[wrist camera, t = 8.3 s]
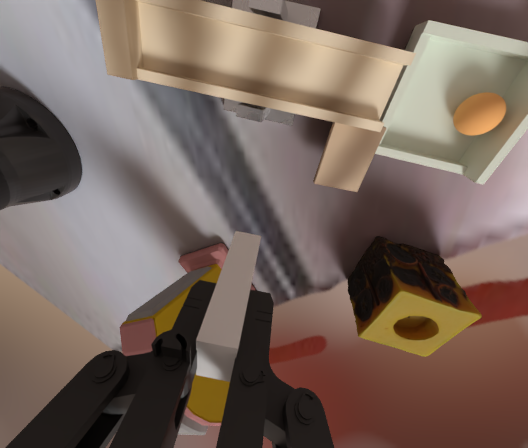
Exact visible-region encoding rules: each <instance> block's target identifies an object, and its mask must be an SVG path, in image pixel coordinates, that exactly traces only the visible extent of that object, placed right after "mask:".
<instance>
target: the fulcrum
mask: <svg viewBox="0 0 528 448" xmlns="http://www.w3.org/2000/svg"><path fill="white" fill-rule="evenodd" d="M232 8H234V9H238V10H242V11H246V12H250V13H254V14H258V15H262V16H266V17H270V18H275V19H279V20H283V21H287V22H291V23H295V24H299V25H303V26H307V27H311V28H315V29H316V26H317V22H318V18H319V14H320V10H321V8H316V7H312V6H308V5H303V4H299V3H294V2H290V1H285V0H233V2H232ZM224 110H227V111H231V112H236V113H237V115H236V116H237V117H241V118H246V119H250V120H254V121H258V122H262V121H263V120H264V119H265V120H269V121H274V122H278V123H282V124H286V125H290V126H292V125H293V121H294V116H295V114H294V113H290V112H285V111H281V110H276V109H271V108H267V107H262V106H258V105H253V104H248V103H244V102H239V101H235V100H230V99H226V98H224Z"/></svg>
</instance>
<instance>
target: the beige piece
mask: <svg viewBox="0 0 528 448" xmlns="http://www.w3.org/2000/svg"><path fill="white" fill-rule="evenodd" d="M96 6H97V12H98V18H99V25H100V31H101V37H102V43H103V49H104V56H105V62H106V68H107V74H108V75H112V76H117V77H121V78H126V79H131V80H136V79H139V80H143V81H148V82H152V83H157V84H161V85H166V86H171V87H175V88H180V89H184V90H189V91H194V92H198V93H203V94H207V95H212V96H216V97H221V98H226V99H230V100H235V101H239V102H244V103H248V104H253V105H258V106H262V107H267V108H271V109H276V110H281V111H285V112H290V113H294V114H299V115H303V116H308V117H313V118H317V119H322V120H326V121H331V122H333V124H332V127H331V130H330V133H329V136H328V139H327V142H326V145H325V148H324V151H323V154H322V157H321V160H320V163H319V165H318V168H317V171H316V174H315V177H314V180H313V181H314V184H319V185H324V186H329V187H334V188H339V189H344V190H349V191H354V192H357V191H358V189H359V187H360V185H361V182H362V180H363V178H364V176H365V174H366V172H367V169H368V167H369V165H370V163H371V161H372V159H373V156H374V154H375V152H376V150H377V148H378V146H379V144H380V141H381V139H382V137H383V135H384V133H385V131H386V127H384V126H383V125H384V123H383V122H381V121H380V118H381V115H382V113H383V111H384V109H385V106H386V104H387V102H388V99H389V97H390V95H391V93H392V90H393V88H394V86H395V83H396V81H397V79H398V77H399V74H400V72H401V70H402V68H403V65H411V64H412V62H413V59H414V57H415V55H416V53H413V52H409V51H405V50H401V49H397V48H393V47H389V46H384V45H380V44H376V43H372V42H368V41H364V40H360V39H356V38H352V37H348V36H344V35H340V34H336V33H332V32H327V31H323V30H319V29H315V28H311V27H307V26H303V25H299V24H295V23H291V22H287V21H283V20H279V19H275V18H270V17H266V16H262V15H258V14H254V13H250V12H246V11H242V10H238V9H234V8H230V7H226V6H222V5H218V4H213V3H209V2H205V1H201V0H96Z"/></svg>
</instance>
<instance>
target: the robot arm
mask: <svg viewBox="0 0 528 448" xmlns="http://www.w3.org/2000/svg"><path fill="white" fill-rule="evenodd" d="M81 176H82V166H81V161H80V157H79V154H78V151H77V149H76V147H75V145H74V143H73V141H72V139H71V137H70V136H69V134H68V133H67V131H66V130H65V129H64V127H63V126H62V125H61V123H60V122H59V121H58V120H57V119H56V118H55V117H54V116H53V115H52V114H51V113H50V112H49V111H48V110H47V109H46V108H45V107H43V106H42V105H41V104H40V103H38V102H37V101H35V100H34V99H32V98H31V97H29V96H27V95H25V94H23V93H21V92H19V91H17V90H14V89H11V88H7V87H1V86H0V210H2V209H4V208H6V207H9V206H15V205H21V204H28V203H34V202H41V201H47V200H53V199H57V198H59V197H62V196H64V195H66V194H68V193H69V192H71V191H73V190H74V189H75V188H76V187H77V186H78V185H79V183H80V180H81ZM260 239H261V236H258V235H253V234H248V233H243V232H238V231H236V232H235V234H234V237H233V240H232V243H231V245H230V248H229V251H228V254H227V256H226V259H225V262H224V265H223V268H222V270H221V273H220V276H219V279H218V281H217V283H213V282H208V281H203V280H199V281H198V282H196V283H195V284H194V285H193V286H192V287H191V289H190V291H189V293H188V295H187V298H186V300H185V302H184V304H183V307H182V308H181V310H180V312H179V314H178V316H177V319H176V321H175V323H174V325H173V327H172V329H171V330H169V331H166V332H163V333H162V334H160V335H159V336H157V337H156V338H155V340H154V341H153V342H152V344H151V345H152V350H153V351H151V352H148V353H144V354H137V355H130V356H125V355H124V354H122V353H121V352H119V351H115V350H112V351H105V352H103V353H101V354H99V355H97V356H95V357H94V358H93V359H92V360H91V361H90V362H88V363H87V364H86V365H85V366H84V367H83V368H82V369H81V371H79V372H78V373H77V375H76V376H75V377H74V378H73V379H72V380H71V381H70V382H69V383H68V384H67V385H66V386H65V387H64V388H63V389H62V390H61V391H60V392H59V393H58V394H57V395H56V396H55V397H54V398H53V399H52V400H51V401H50V402H49V404H47V405H46V407H44V408H43V410H42V411H41V412H40V413H39V414H38V415H37V416H36V417H35V418H34V419H33V420H32V421H31V422H30V423H29V424H28V425H27V426H26V427H25V428H24V429H23V430H22V431H21V432H20V433H19V434H18V435H17V436H16V437H15V438H14V439H13V441H11V442H10V443H9V445H8V446H7V447H6V448H106V446H107V445H108V443H109V442H110V440H111V439H112V438H113V436H114V435H115V433H116V432H117V433H116V435H115V437H114V439H113V441H112V443H111V445H110V447H109V448H174V445H175V441H176V438H177V435H178V432H179V429H180V426H181V423H182V419H183V416H184V413H185V410H186V407H187V404H188V401H189V397H190V394H191V389H192V382H193V379H194V376H195V373H196V375H199V376H203V377H208V378H213V379H218V380H223V381H228V382H230V384H229V389H228V394H227V399H226V403H225V408H224V413H223V418H222V422H221V428H220V432H219V437H218V441H217V446H216V448H262V445H263V436H265V437H266V438H267V439H269V440H270V441H272V446H273V448H334V445H333V442H332V438H331V434H330V431H329V427H328V424H327V420H326V415H325V412H324V408H323V406H322V403H321V401H320V399H319V398H318V397H317V396H316V395H315V393H314V392H312V391H310V390H309V389H306V388H297V389H294V388H292V387H291V386H289V385H288V384H286V383H284V382H283V381H281V380H280V379H279V378H277V377H276V375H275V374H274V373H273V371H272V369H271V367H270V364H269V347H270V335H271V324H272V314H273V304H274V303H273V300H272V297H271V294H270V293H265V292H260V291H255V290H250V289H251V284H252V279H253V274H254V269H255V264H256V259H257V254H258V249H259V244H260ZM117 430H118V431H117Z"/></svg>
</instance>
